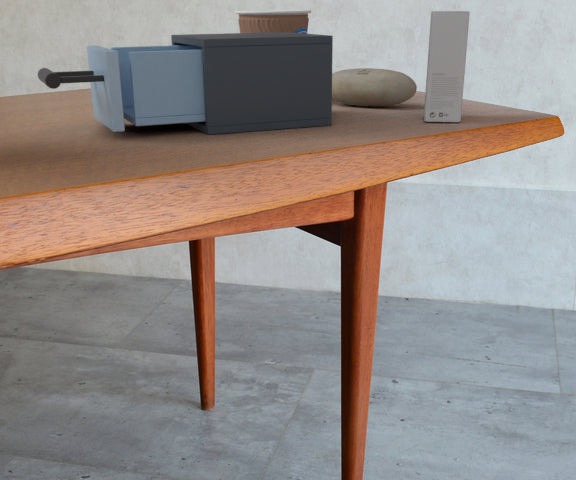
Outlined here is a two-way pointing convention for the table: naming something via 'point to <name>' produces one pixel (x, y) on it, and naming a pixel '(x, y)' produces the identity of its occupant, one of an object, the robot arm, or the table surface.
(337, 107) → the table surface
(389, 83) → the stone
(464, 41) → the cosmetic box
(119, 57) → the drawer
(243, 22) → the coffee cup
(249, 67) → the cabinet
